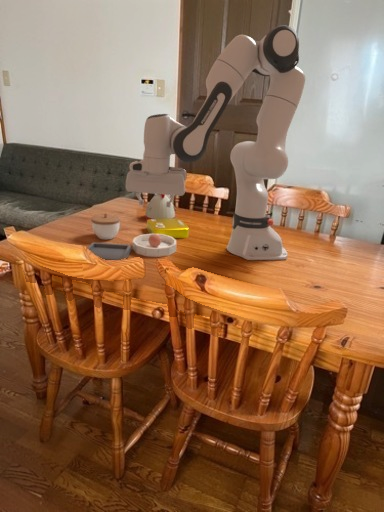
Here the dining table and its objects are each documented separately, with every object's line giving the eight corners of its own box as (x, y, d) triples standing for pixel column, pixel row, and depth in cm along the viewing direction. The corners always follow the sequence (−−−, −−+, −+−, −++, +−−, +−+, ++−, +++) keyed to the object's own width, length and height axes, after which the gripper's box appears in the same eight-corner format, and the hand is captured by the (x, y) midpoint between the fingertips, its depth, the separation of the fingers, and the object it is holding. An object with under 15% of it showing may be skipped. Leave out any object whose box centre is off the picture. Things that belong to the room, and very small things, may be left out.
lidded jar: (113, 243, 131) (113, 219, 127) (87, 239, 133) (85, 215, 129) (124, 234, 141) (124, 211, 137) (99, 231, 142) (98, 208, 139)
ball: (161, 244, 130) (161, 232, 128) (160, 249, 126) (160, 237, 124) (149, 243, 130) (149, 232, 128) (147, 248, 126) (147, 236, 124)
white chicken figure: (169, 213, 173) (170, 183, 167) (179, 221, 161) (181, 189, 156) (141, 215, 167) (142, 184, 162) (150, 223, 156) (151, 190, 150)
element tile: (189, 238, 142) (190, 227, 140) (153, 240, 137) (153, 229, 135) (179, 227, 155) (179, 216, 153) (145, 228, 150) (145, 218, 148)
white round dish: (177, 242, 136) (177, 235, 134) (174, 258, 121) (174, 250, 120) (137, 239, 135) (137, 232, 134) (129, 255, 121) (129, 247, 120)
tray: (131, 250, 125) (131, 244, 125) (123, 265, 113) (123, 260, 112) (92, 247, 125) (92, 242, 125) (80, 263, 112) (79, 257, 112)
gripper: (187, 166, 120) (184, 206, 125) (128, 162, 120) (128, 201, 125) (187, 169, 114) (184, 210, 119) (124, 164, 114) (124, 205, 119)
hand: (155, 206), depth 122 cm, fingers open, 8 cm apart
